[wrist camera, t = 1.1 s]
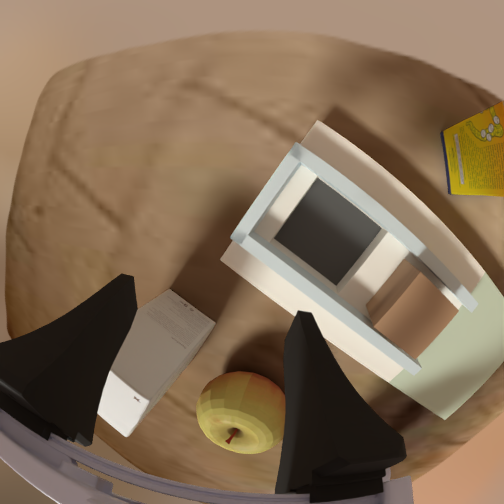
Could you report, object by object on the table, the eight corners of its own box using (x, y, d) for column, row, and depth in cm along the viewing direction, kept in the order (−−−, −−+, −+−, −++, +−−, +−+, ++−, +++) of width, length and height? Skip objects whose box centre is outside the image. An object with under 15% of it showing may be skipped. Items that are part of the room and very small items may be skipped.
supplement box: (483, 135, 17) (551, 114, 6) (491, 195, 18) (564, 201, 7) (438, 130, 18) (502, 97, 8) (446, 194, 19) (519, 199, 9)
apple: (207, 403, 30) (181, 446, 23) (218, 346, 28) (186, 391, 20) (281, 427, 29) (268, 475, 21) (306, 373, 26) (298, 427, 19)
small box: (169, 286, 28) (82, 342, 15) (217, 322, 27) (151, 402, 15) (145, 335, 30) (74, 393, 18) (187, 367, 30) (127, 440, 17)
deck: (515, 323, 19) (533, 340, 15) (439, 407, 23) (448, 430, 19) (317, 127, 21) (317, 112, 17) (229, 253, 25) (210, 265, 21)
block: (440, 292, 19) (459, 310, 15) (403, 335, 20) (415, 359, 17) (404, 258, 19) (420, 271, 15) (365, 305, 21) (373, 326, 17)
